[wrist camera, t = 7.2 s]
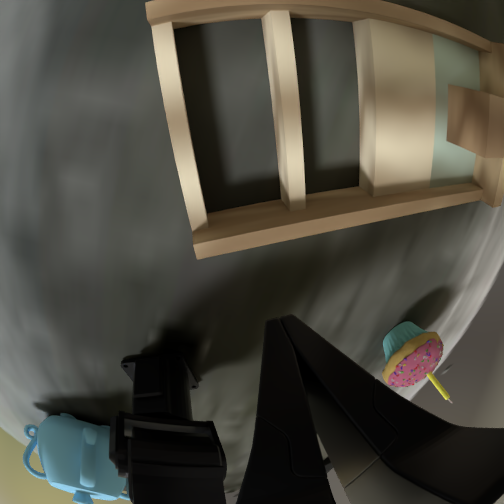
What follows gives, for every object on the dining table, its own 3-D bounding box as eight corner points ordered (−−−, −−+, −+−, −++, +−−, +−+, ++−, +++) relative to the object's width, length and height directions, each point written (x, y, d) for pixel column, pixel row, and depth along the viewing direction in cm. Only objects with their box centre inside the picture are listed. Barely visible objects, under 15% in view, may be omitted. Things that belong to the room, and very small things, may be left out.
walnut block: (477, 141, 17) (512, 158, 14) (446, 141, 17) (485, 158, 13) (479, 91, 14) (516, 102, 11) (447, 83, 14) (489, 93, 11)
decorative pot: (71, 442, 36) (69, 505, 25) (19, 402, 27) (8, 479, 16) (147, 445, 38) (153, 515, 27) (105, 406, 29) (104, 502, 18)
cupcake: (433, 308, 32) (483, 375, 22) (401, 352, 36) (440, 416, 26) (390, 311, 29) (446, 395, 19) (357, 360, 33) (397, 437, 23)
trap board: (464, 182, 22) (500, 205, 17) (195, 230, 19) (198, 275, 15) (469, 42, 14) (513, 49, 10) (153, 18, 11) (140, -7, 7)
